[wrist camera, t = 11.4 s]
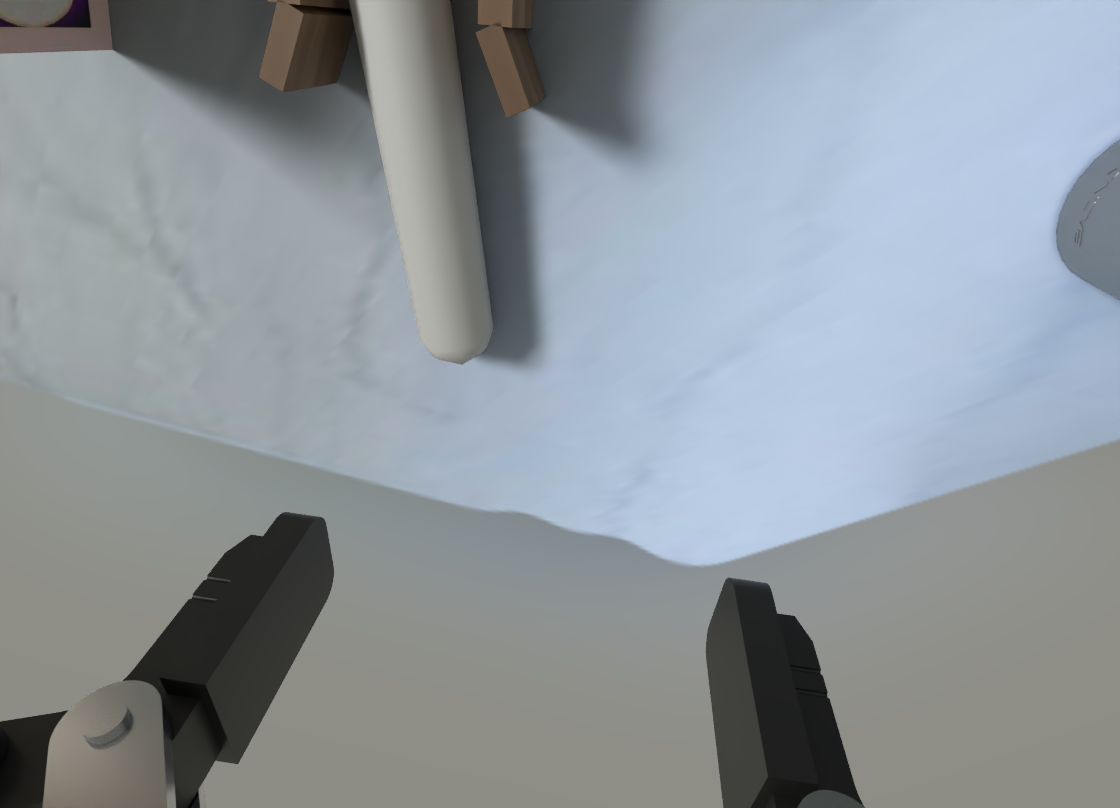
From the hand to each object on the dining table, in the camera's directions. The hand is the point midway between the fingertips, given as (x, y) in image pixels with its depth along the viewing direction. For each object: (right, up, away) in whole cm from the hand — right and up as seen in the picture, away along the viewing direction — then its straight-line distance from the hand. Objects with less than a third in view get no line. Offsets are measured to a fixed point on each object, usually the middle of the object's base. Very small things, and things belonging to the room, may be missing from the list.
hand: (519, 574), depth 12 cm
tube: (-6, +18, +23) cm, 30 cm away
